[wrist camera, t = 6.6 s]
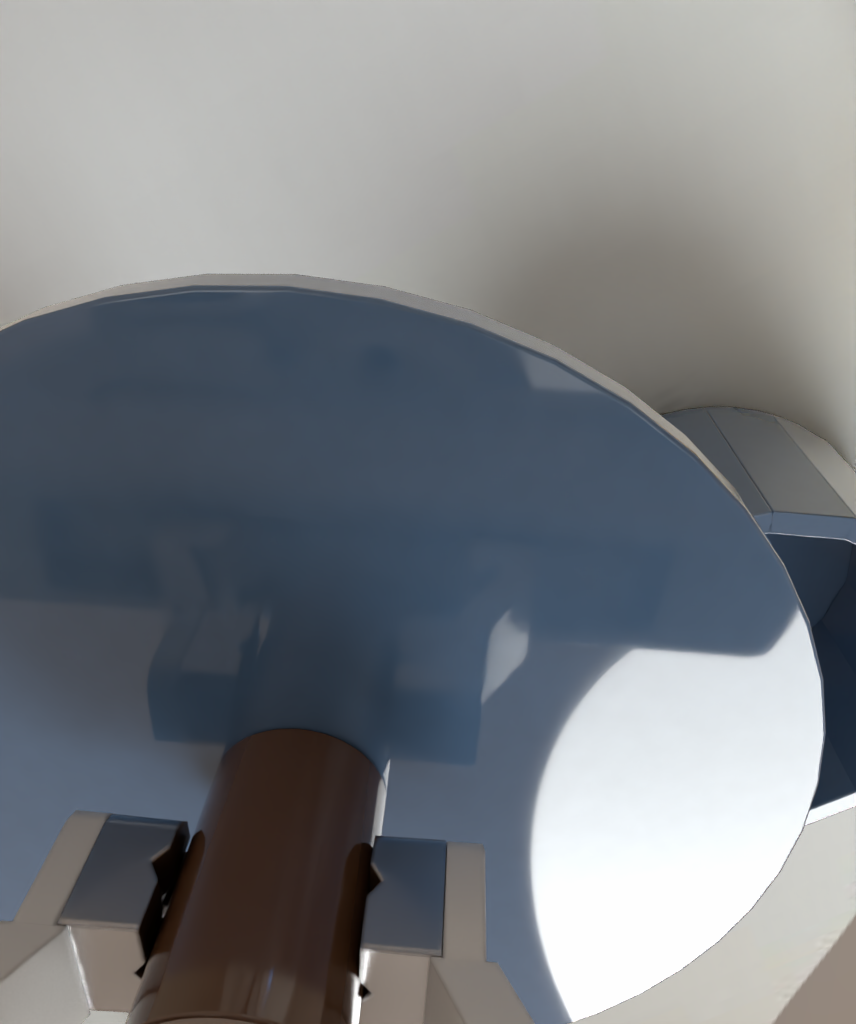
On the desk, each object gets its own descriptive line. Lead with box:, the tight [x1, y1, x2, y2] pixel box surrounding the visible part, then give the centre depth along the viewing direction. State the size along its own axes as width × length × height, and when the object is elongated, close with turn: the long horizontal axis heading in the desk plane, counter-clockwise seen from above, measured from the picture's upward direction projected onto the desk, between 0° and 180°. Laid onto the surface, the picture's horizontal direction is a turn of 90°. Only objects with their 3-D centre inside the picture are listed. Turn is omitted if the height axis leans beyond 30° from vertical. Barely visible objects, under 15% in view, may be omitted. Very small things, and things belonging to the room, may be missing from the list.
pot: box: [661, 407, 856, 826], centre depth 31 cm, size 14×14×8 cm
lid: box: [0, 274, 826, 1024], centre depth 11 cm, size 15×15×5 cm
